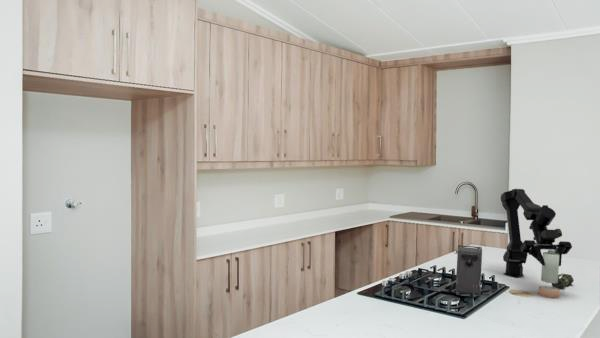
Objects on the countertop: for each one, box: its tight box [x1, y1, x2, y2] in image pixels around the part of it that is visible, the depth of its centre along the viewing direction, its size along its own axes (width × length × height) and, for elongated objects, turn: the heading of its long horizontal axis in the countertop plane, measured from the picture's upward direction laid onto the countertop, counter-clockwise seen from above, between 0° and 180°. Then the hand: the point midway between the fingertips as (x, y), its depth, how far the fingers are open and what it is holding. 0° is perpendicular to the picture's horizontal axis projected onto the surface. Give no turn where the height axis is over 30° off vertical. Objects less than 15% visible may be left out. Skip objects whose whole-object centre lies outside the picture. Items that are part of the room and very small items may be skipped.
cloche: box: [540, 250, 560, 284], centre depth 204 cm, size 6×6×12 cm
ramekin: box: [537, 285, 561, 299], centre depth 205 cm, size 8×8×3 cm
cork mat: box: [508, 289, 534, 298], centre depth 207 cm, size 9×9×1 cm
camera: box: [453, 244, 483, 297], centre depth 210 cm, size 11×17×20 cm, turn 161°
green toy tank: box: [550, 273, 574, 290], centre depth 221 cm, size 6×5×18 cm
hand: (552, 265), depth 203 cm, fingers closed on cloche, 6 cm apart
